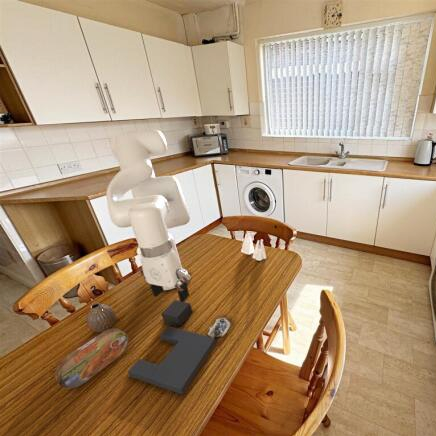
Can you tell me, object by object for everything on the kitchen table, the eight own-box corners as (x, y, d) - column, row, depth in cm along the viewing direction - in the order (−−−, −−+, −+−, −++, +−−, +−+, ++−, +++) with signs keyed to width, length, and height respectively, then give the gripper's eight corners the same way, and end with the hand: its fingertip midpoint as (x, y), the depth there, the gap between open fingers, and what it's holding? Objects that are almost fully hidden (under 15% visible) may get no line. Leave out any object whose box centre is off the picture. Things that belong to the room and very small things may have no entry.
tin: (67, 396, 56) (50, 373, 53) (62, 389, 58) (46, 366, 54) (133, 346, 68) (123, 325, 64) (127, 341, 69) (117, 320, 66)
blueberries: (205, 341, 68) (204, 336, 68) (209, 319, 76) (208, 314, 75) (229, 337, 69) (228, 333, 68) (231, 316, 76) (230, 311, 76)
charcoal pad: (129, 376, 60) (127, 371, 59) (170, 330, 72) (168, 326, 71) (182, 394, 56) (180, 389, 55) (216, 343, 68) (214, 338, 67)
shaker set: (240, 254, 109) (237, 233, 104) (246, 250, 112) (244, 229, 107) (261, 262, 103) (258, 240, 98) (267, 257, 106) (265, 236, 101)
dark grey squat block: (164, 322, 75) (160, 313, 73) (177, 308, 80) (174, 299, 78) (180, 326, 73) (177, 317, 72) (192, 312, 78) (190, 303, 77)
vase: (89, 339, 70) (77, 318, 66) (95, 322, 76) (84, 301, 72) (116, 330, 73) (106, 309, 69) (120, 314, 78) (111, 294, 75)
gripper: (120, 250, 64) (139, 299, 71) (172, 258, 60) (187, 310, 67) (143, 238, 71) (158, 284, 78) (191, 244, 66) (203, 292, 73)
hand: (171, 296), depth 72 cm, fingers open, 9 cm apart
